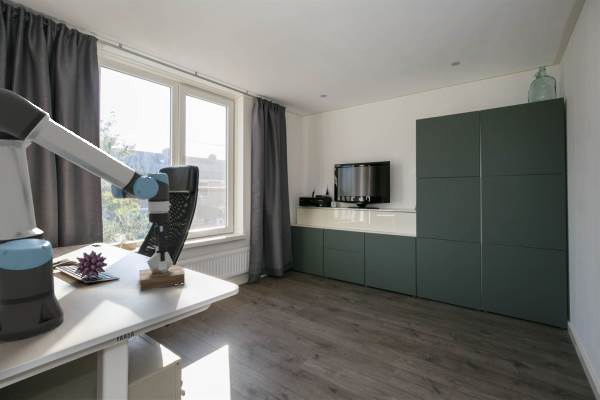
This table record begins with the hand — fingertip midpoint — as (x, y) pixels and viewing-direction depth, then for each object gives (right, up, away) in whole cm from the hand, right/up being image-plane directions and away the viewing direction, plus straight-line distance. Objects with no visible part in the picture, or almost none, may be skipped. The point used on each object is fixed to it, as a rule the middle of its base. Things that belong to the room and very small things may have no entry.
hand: (161, 265), depth 119 cm
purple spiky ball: (-32, -7, +6) cm, 33 cm away
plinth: (0, -7, 0) cm, 7 cm away
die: (0, -3, 0) cm, 3 cm away
